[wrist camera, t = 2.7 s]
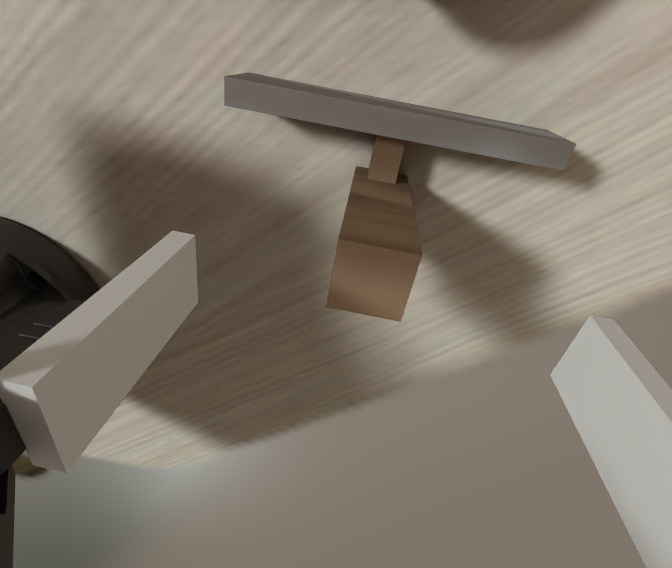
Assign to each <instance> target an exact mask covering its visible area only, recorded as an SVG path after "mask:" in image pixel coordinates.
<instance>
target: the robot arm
mask: <svg viewBox="0 0 672 568" xmlns="http://www.w3.org/2000/svg"><path fill="white" fill-rule="evenodd" d="M197 303H198V283H197V263H196V242H195V235H192V234H187V233H183V232H178V231H171V232H170V233H169V234H168V235H166V236H165V237H164V238H163V239H162V240H160V241H159V242H158V243H157V244H155V245H154V246H153V247H152V248H150V249H149V250H148V251H147V252H146V253H144V254H143V255H142V256H141V257H139V258H138V259H137V260H136V261H134V262H133V263H132V264H131V265H130V266H128V267H127V268H126V269H125V270H123V271H122V272H121V273H120V274H119V275H117V276H116V277H115V278H114V279H112V280H111V281H110V282H109V283H107V284H106V285H105V286H104V287H103V288H101V289H100V290H98V288H97V287H96V285H95V284H94V282H93V281H92V280H91V278H90V277H89V276H88V275H87V274H86V272H85V271H84V270H83V269H82V268H81V267H80V266H79V265H78V264H77V263H76V262H75V261H74V260H73V259H72V258H71V257H69V256H68V255H67V254H66V253H65V252H64V251H62V250H61V249H60V248H58V247H57V246H56V245H54V244H53V243H52V242H50V241H49V240H47V239H46V238H44V237H42V236H41V235H39V234H37V233H35V232H34V231H32V230H30V229H28V228H26V227H24V226H22V225H19V224H17V223H15V222H12V221H9V220H6V219H4V218H0V568H13V540H14V537H13V536H14V506H15V470H14V467H13V463H14V462H15V461H16V460H17V458H18V457H19V456H20V455H21V454H22V453H23V452H24V451H25V450H26V452H27V454H28V456H29V458H30V460H31V462H32V464H33V465H34V466H39V467H43V468H48V469H52V470H57V471H62V472H66V473H67V472H68V470H69V469H70V468H71V467H72V465H73V464H74V463H75V461H76V460H77V459H78V458H79V456H80V455H81V454H82V452H83V451H84V450H85V449H86V447H87V446H88V445H89V443H90V442H91V441H92V439H93V438H94V437H95V436H96V434H97V433H98V432H99V430H100V429H101V428H102V426H103V425H104V424H105V423H106V421H107V420H108V419H109V417H110V416H111V415H112V414H113V412H114V411H115V410H116V408H117V407H118V406H119V404H120V403H121V402H122V401H123V399H124V398H125V397H126V395H127V394H128V393H129V391H130V390H131V389H132V388H133V386H134V385H135V384H136V382H137V381H138V380H139V379H140V377H141V376H142V375H143V373H144V372H145V371H146V369H147V368H148V367H149V366H150V364H151V363H152V362H153V360H154V359H155V358H156V356H157V355H158V354H159V353H160V351H161V350H162V349H163V347H164V346H165V345H166V344H167V342H168V341H169V340H170V338H171V337H172V336H173V334H174V333H175V332H176V331H177V329H178V328H179V327H180V325H181V324H182V323H183V322H184V320H185V319H186V318H187V316H188V315H189V314H190V312H191V311H192V310H193V309H194V307H195V306H196V305H197ZM551 377H552V379H553V381H554V383H555V385H556V387H557V389H558V391H559V394H560V396H561V398H562V400H563V402H564V403H565V406H566V408H567V410H568V412H569V414H570V416H571V418H572V420H573V422H574V424H575V426H576V428H577V430H578V432H579V434H580V436H581V438H582V440H583V442H584V444H585V446H586V448H587V450H588V452H589V454H590V456H591V458H592V460H593V462H594V464H595V466H596V468H597V470H598V472H599V474H600V476H601V478H602V480H603V482H604V484H605V486H606V488H607V490H608V492H609V494H610V496H611V498H612V500H613V502H614V504H615V506H616V508H617V510H618V512H619V514H620V516H621V518H622V520H623V522H624V524H625V526H626V528H627V530H628V532H629V534H630V536H631V538H632V540H633V542H634V544H635V546H636V548H637V550H638V552H639V554H640V557H641V559H642V560H643V563H644V565H645V567H646V568H672V389H671V388H670V387H669V386H668V384H667V383H666V382H665V381H664V380H663V379H662V377H661V376H660V375H659V374H658V373H657V371H656V370H655V369H654V368H653V367H652V365H651V364H650V363H649V362H648V361H647V359H646V358H645V357H644V356H643V355H642V354H641V352H640V351H639V350H638V349H637V347H636V346H635V345H634V344H633V343H632V341H631V340H630V339H629V338H628V337H627V335H626V334H625V333H624V332H623V331H622V329H621V328H620V327H619V326H618V325H617V324H616V322H615V321H614V320H611V319H606V318H601V317H596V316H591V315H590V316H589V318H588V319H587V321H586V322H585V324H584V325H583V327H582V328H581V330H580V331H579V333H578V334H577V336H576V337H575V339H574V340H573V342H572V343H571V345H570V346H569V348H568V349H567V351H566V352H565V354H564V355H563V357H562V358H561V360H560V361H559V363H558V364H557V366H556V367H555V368H554V370H553V372H552V373H551Z"/></svg>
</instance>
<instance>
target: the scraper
mask: <svg viewBox="0 0 672 568" xmlns="http://www.w3.org/2000/svg"><path fill="white" fill-rule="evenodd" d="M224 83H225V106H231V107H236V108H241V109H246V110H251V111H256V112H262V113H267V114H272V115H277V116H282V117H288V118H293V119H298V120H303V121H308V122H313V123H319V124H324V125H329V126H334V127H339V128H344V129H350V130H355V131H360V132H365V133H370V134H376V137H375V142H374V147H373V152H372V156H371V161H370V166H369V169H368V168H363V167H358V166H356V169H355V173H354V177H353V182H352V186H351V190H350V194H349V198H348V202H347V206H346V210H345V215H344V219H343V223H342V227H341V231H340V235H339V239H338V245H337V250H336V256H335V261H334V267H333V272H332V278H331V283H330V289H329V294H328V300H327V305H326V307H329V308H334V309H339V310H345V311H350V312H355V313H360V314H365V315H370V316H375V317H380V318H385V319H390V320H395V321H401V319H402V316H403V313H404V310H405V306H406V303H407V300H408V297H409V294H410V291H411V288H412V285H413V282H414V279H415V276H416V273H417V270H418V266H419V263H420V260H421V257H422V253H421V247H420V242H419V237H418V231H417V226H416V221H415V215H414V210H413V205H412V199H411V194H410V189H409V183H408V178H407V176H405V175H399V174H398V171H399V167H400V163H401V159H402V155H403V151H404V147H405V143H406V140H407V141H412V142H417V143H422V144H427V145H433V146H438V147H443V148H448V149H453V150H458V151H464V152H469V153H474V154H479V155H484V156H490V157H495V158H500V159H505V160H510V161H515V162H521V163H526V164H531V165H536V166H541V167H546V168H552V169H557V170H562V171H563V170H564V168H565V166H566V164H567V162H568V160H569V158H570V156H571V154H572V152H573V150H574V148H575V146H576V144H575V143H573V142H571V141H569V140H567V139H565V138H563V137H561V136H559V135H556V134H554V133H552V132H550V131H548V130H544V129H539V128H534V127H528V126H523V125H518V124H513V123H508V122H502V121H497V120H492V119H487V118H482V117H476V116H471V115H466V114H461V113H456V112H450V111H445V110H440V109H435V108H430V107H424V106H419V105H414V104H409V103H404V102H398V101H393V100H388V99H383V98H378V97H372V96H367V95H362V94H357V93H352V92H346V91H341V90H336V89H331V88H326V87H320V86H315V85H310V84H305V83H300V82H294V81H289V80H284V79H279V78H274V77H268V76H263V75H258V74H253V73H243V74H236V75H230V76H224Z"/></svg>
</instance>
